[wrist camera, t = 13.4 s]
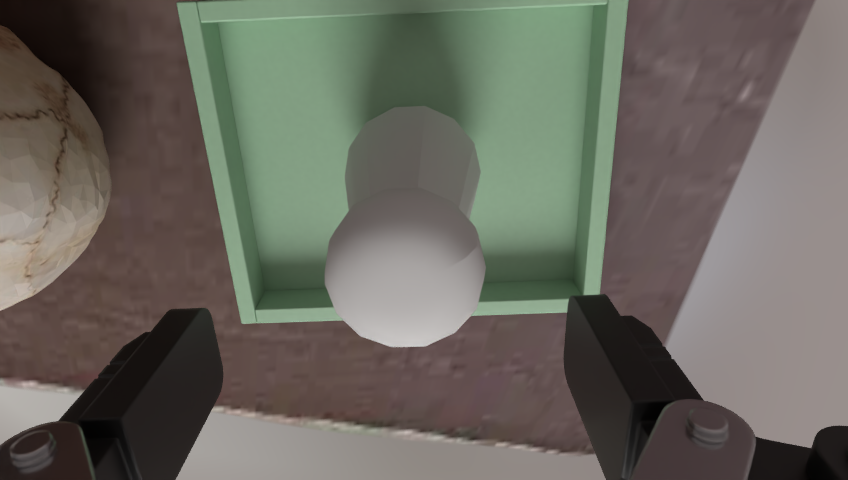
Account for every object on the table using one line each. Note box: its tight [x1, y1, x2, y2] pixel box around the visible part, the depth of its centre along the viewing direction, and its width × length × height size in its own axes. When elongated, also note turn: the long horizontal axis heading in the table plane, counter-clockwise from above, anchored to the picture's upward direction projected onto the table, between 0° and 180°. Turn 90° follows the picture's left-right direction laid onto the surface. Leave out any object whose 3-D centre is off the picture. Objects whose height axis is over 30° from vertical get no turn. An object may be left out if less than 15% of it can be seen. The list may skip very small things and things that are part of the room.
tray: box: [177, 0, 628, 324], centre depth 25 cm, size 18×15×3 cm
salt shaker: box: [325, 106, 486, 347], centre depth 19 cm, size 6×6×13 cm
